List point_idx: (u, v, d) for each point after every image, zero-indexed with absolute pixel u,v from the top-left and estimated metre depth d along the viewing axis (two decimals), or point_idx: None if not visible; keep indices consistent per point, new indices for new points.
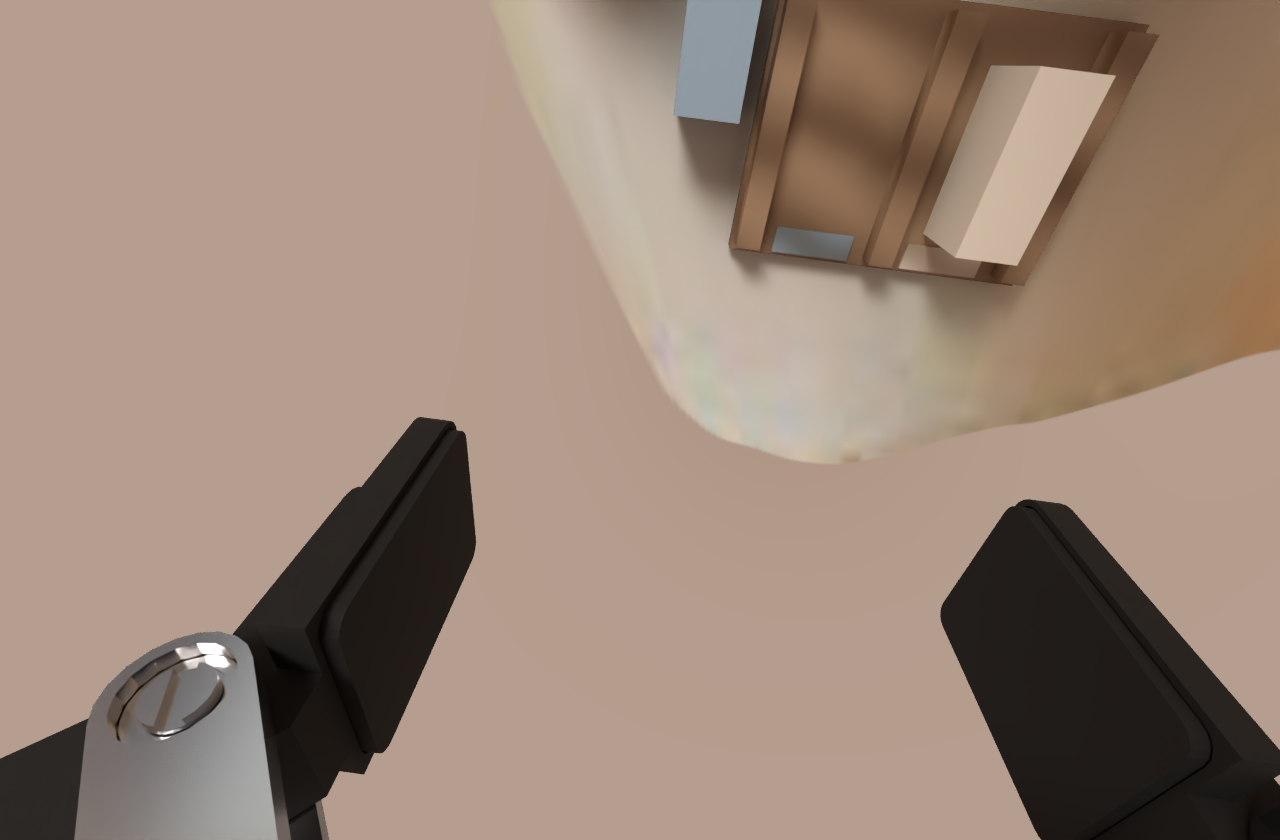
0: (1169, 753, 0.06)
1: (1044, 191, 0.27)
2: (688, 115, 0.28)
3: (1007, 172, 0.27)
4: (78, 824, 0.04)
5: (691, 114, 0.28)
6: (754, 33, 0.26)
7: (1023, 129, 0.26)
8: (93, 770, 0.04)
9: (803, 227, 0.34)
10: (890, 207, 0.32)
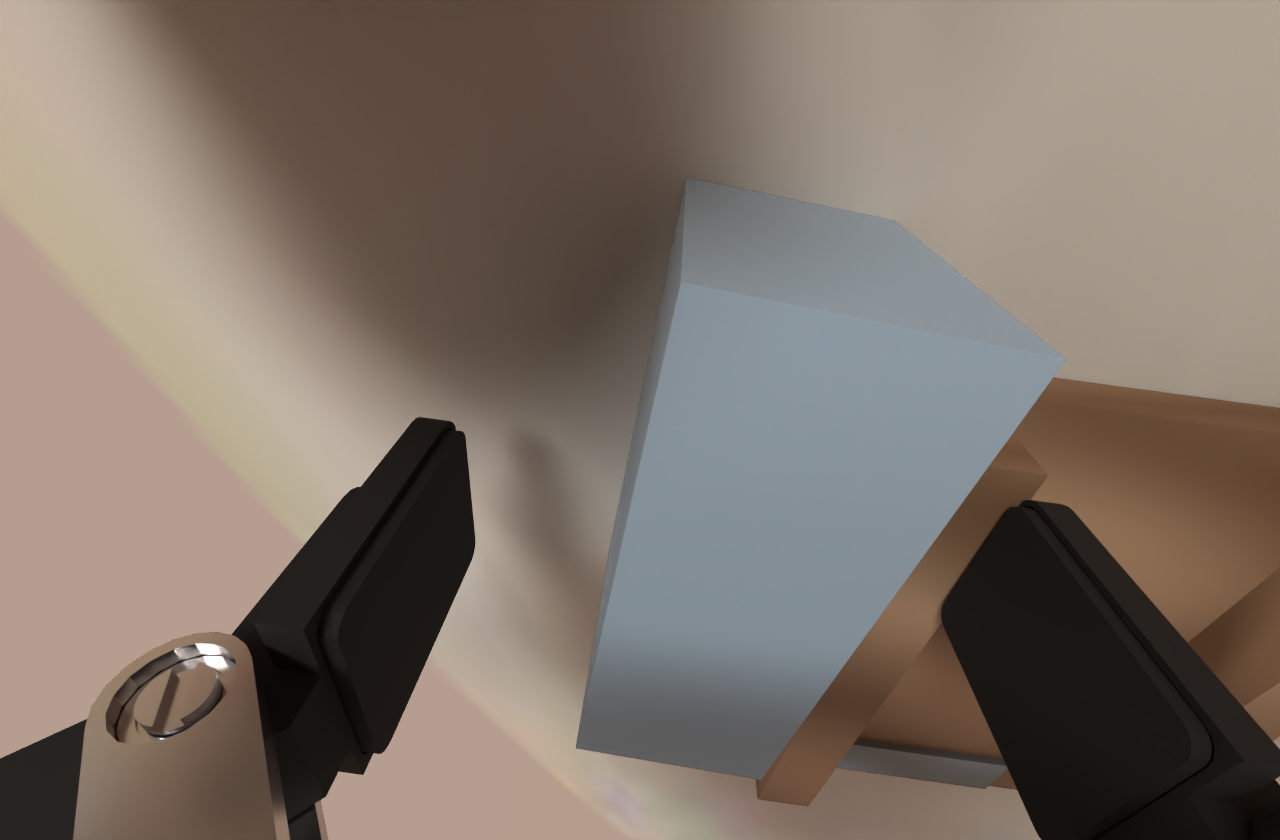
0: (1170, 754, 0.06)
1: None
2: (619, 751, 0.10)
3: None
4: (77, 824, 0.04)
5: (627, 753, 0.10)
6: (838, 668, 0.08)
7: None
8: (92, 770, 0.04)
9: (901, 743, 0.16)
10: None
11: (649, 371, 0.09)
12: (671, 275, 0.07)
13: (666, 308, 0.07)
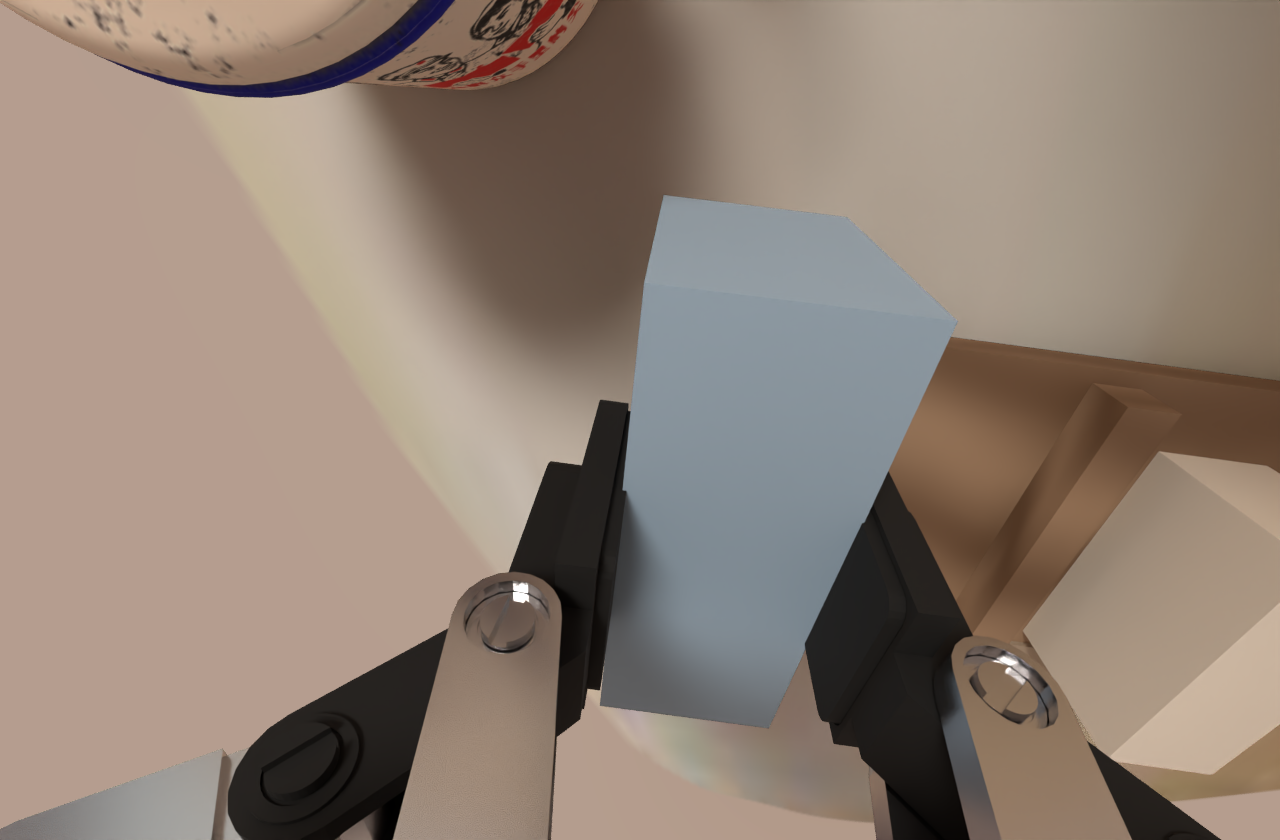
0: (880, 618, 0.07)
1: None
2: (638, 707, 0.11)
3: (1220, 682, 0.15)
4: (432, 691, 0.05)
5: (646, 708, 0.11)
6: None
7: (1262, 638, 0.14)
8: (449, 653, 0.05)
9: None
10: (980, 627, 0.20)
11: None
12: None
13: None
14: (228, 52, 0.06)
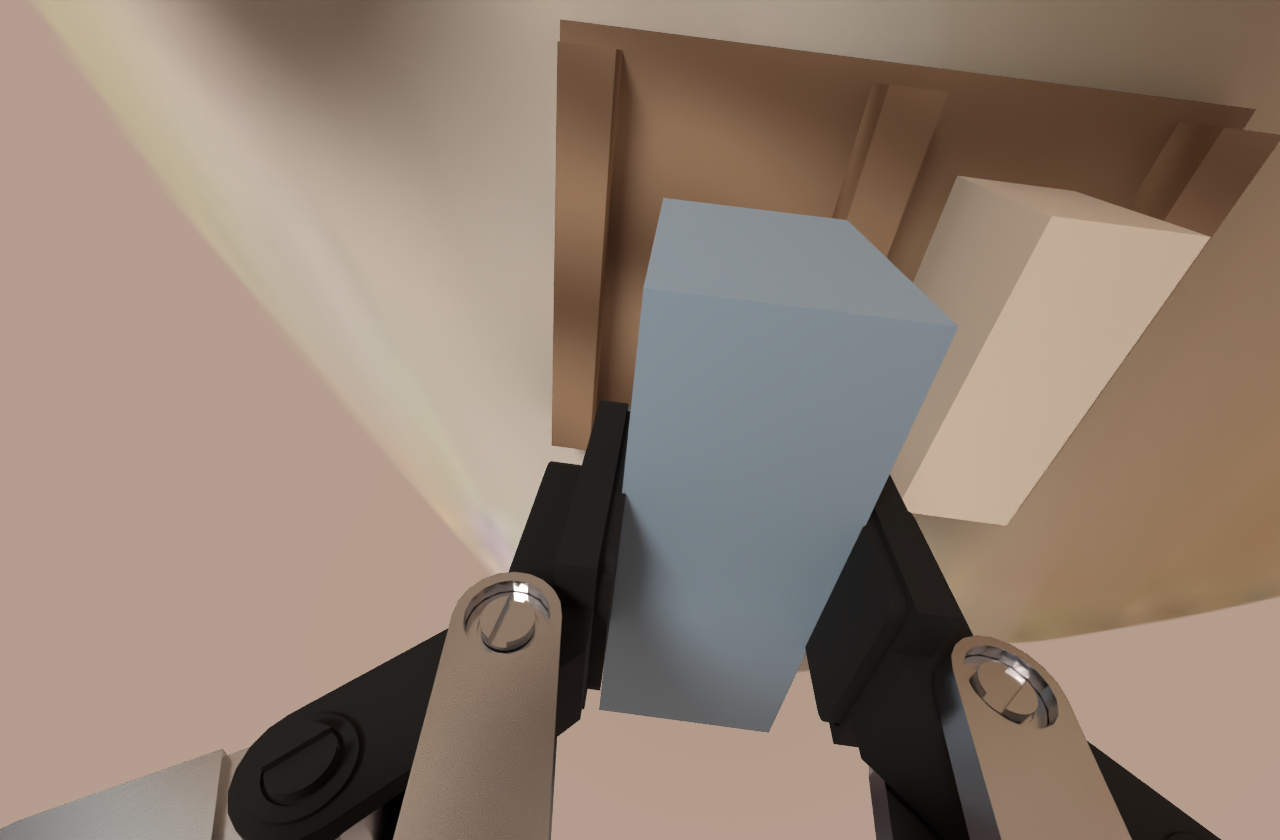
0: (880, 618, 0.07)
1: (1056, 424, 0.14)
2: (638, 711, 0.11)
3: (986, 393, 0.14)
4: (432, 691, 0.05)
5: (645, 712, 0.11)
6: None
7: (1015, 326, 0.13)
8: (449, 653, 0.05)
9: None
10: None
11: None
12: None
13: None
14: None
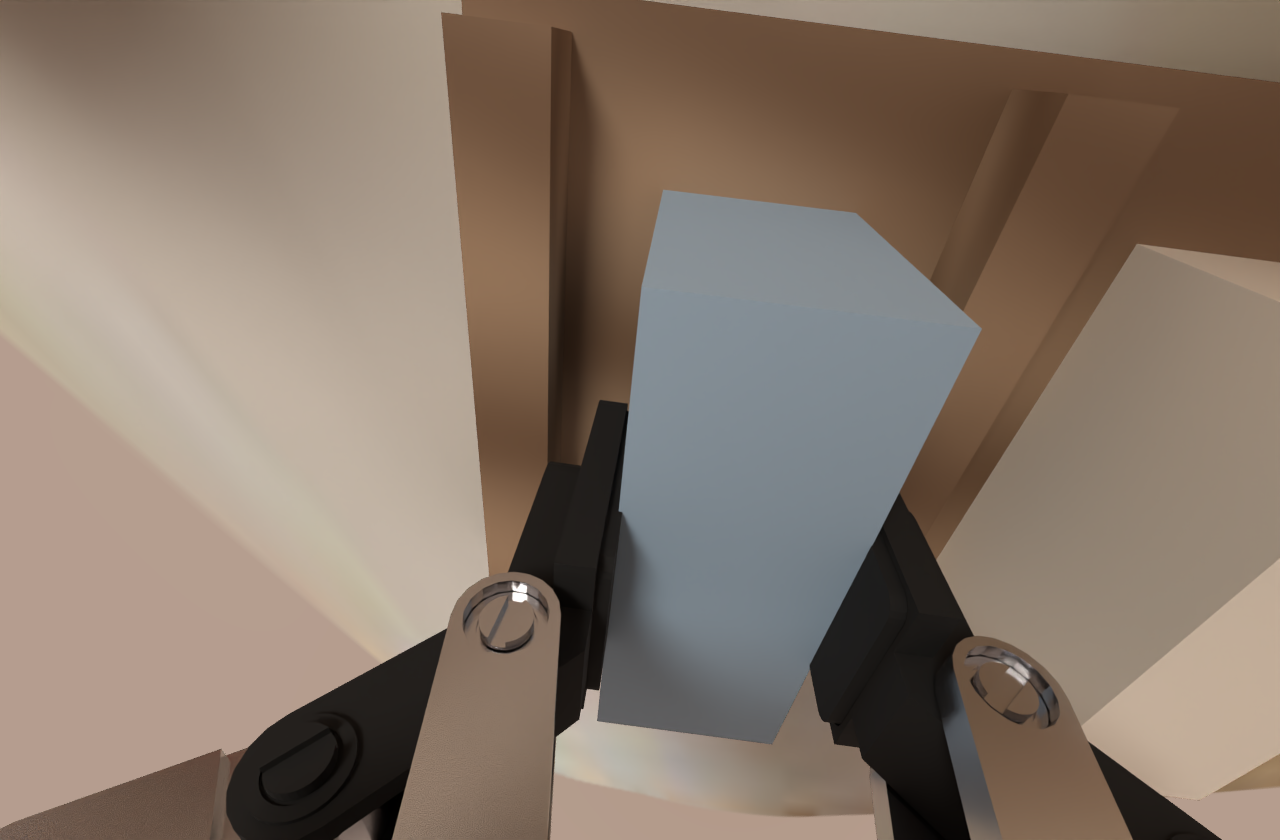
0: (881, 618, 0.07)
1: None
2: (637, 722, 0.10)
3: (1226, 651, 0.08)
4: (431, 691, 0.05)
5: (644, 723, 0.10)
6: (827, 628, 0.08)
7: None
8: (448, 653, 0.05)
9: None
10: None
11: None
12: None
13: None
14: None
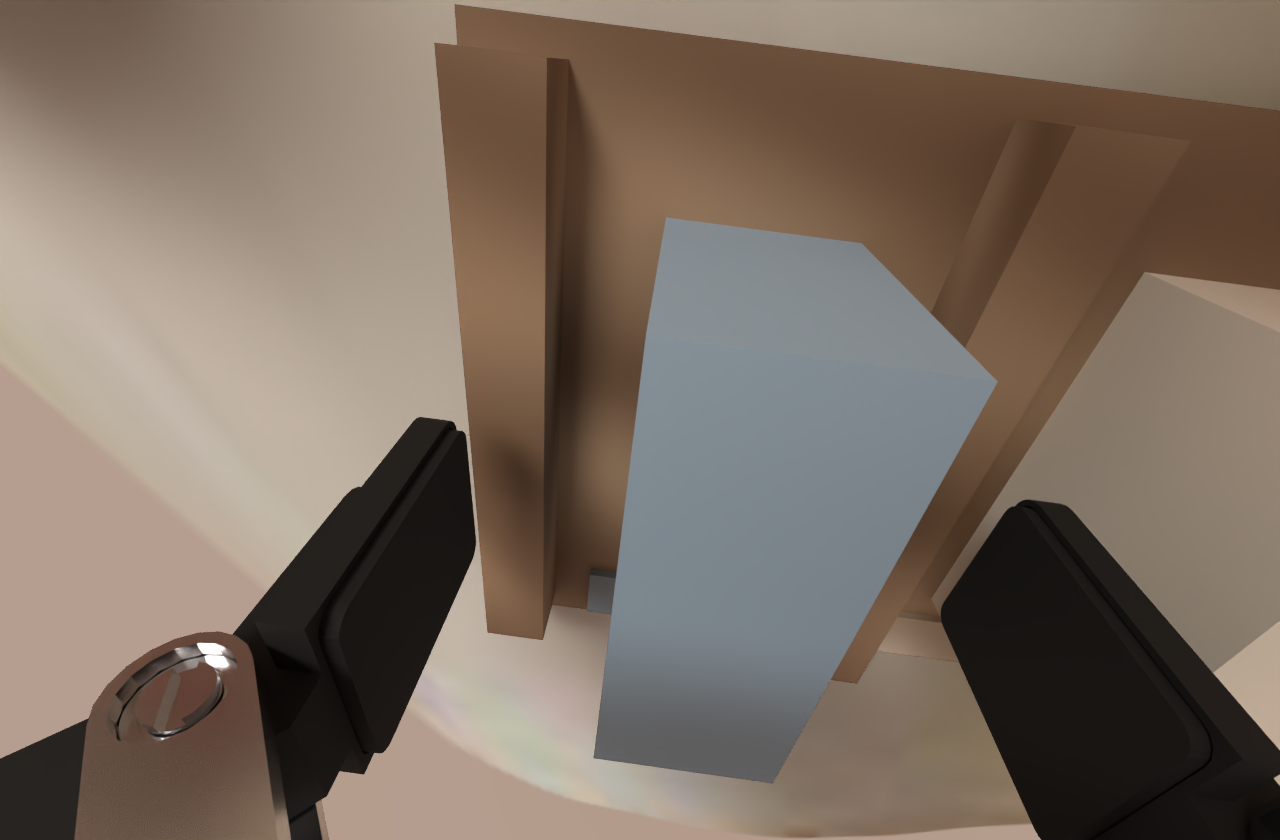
0: (1169, 753, 0.06)
1: None
2: (634, 760, 0.10)
3: (1242, 695, 0.08)
4: (78, 824, 0.04)
5: (642, 761, 0.10)
6: (831, 672, 0.08)
7: None
8: (93, 770, 0.04)
9: None
10: None
11: None
12: None
13: None
14: None
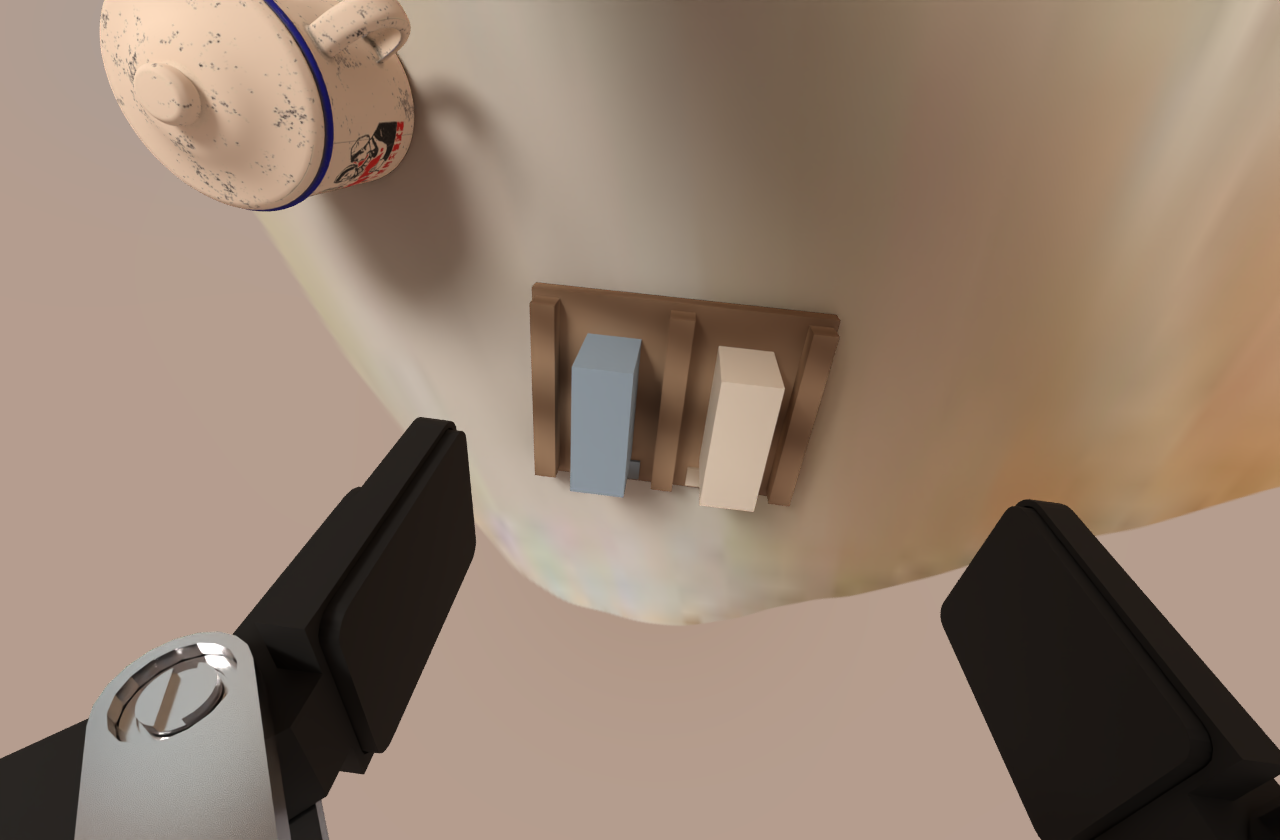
0: (1169, 753, 0.06)
1: (756, 462, 0.32)
2: (582, 491, 0.34)
3: (721, 449, 0.32)
4: (75, 825, 0.04)
5: (584, 491, 0.34)
6: (626, 448, 0.32)
7: (723, 421, 0.31)
8: (92, 770, 0.04)
9: None
10: (656, 449, 0.36)
11: None
12: None
13: None
14: (258, 203, 0.23)
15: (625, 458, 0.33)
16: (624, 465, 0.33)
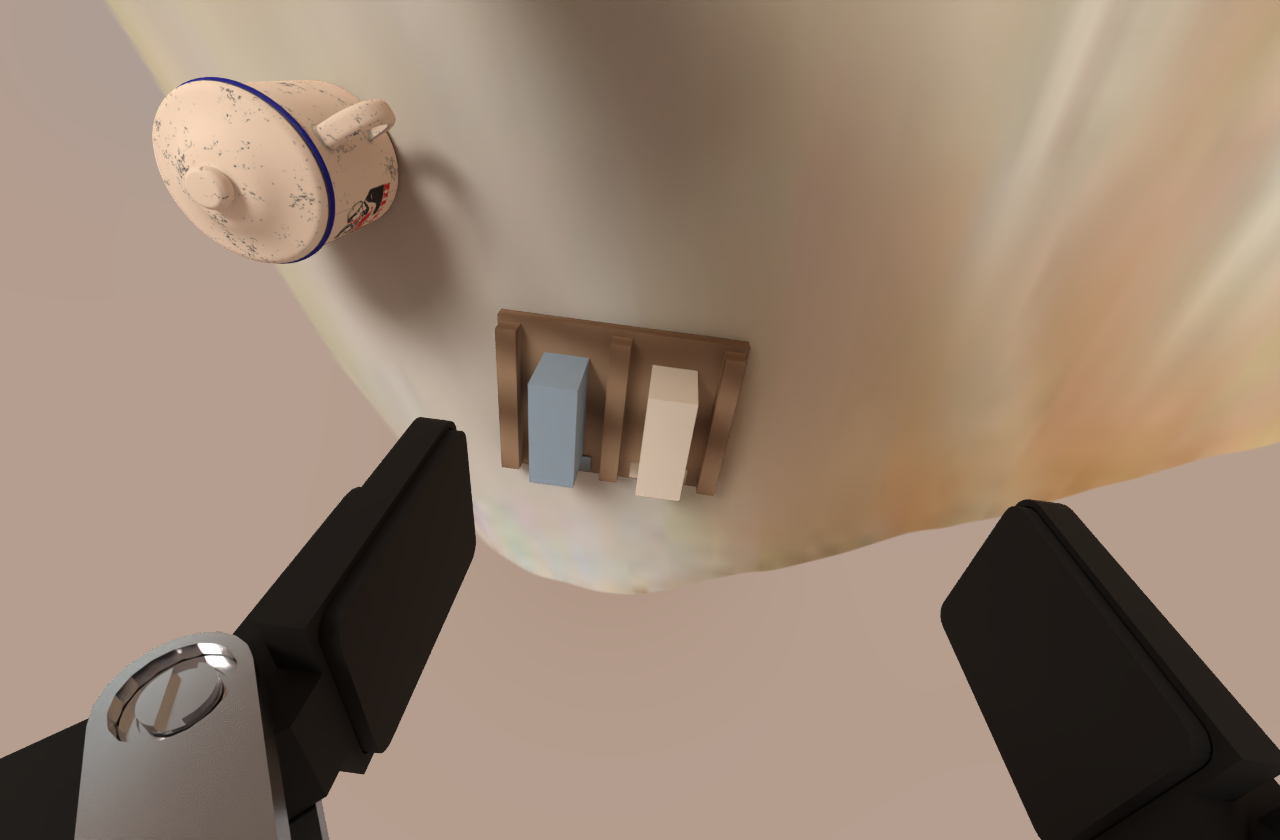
0: (1169, 753, 0.06)
1: (679, 461, 0.39)
2: (539, 482, 0.42)
3: (651, 451, 0.39)
4: (77, 823, 0.04)
5: (540, 482, 0.42)
6: (574, 449, 0.40)
7: (651, 429, 0.38)
8: (93, 769, 0.04)
9: None
10: (602, 447, 0.44)
11: None
12: None
13: None
14: (275, 260, 0.30)
15: (573, 456, 0.40)
16: (573, 462, 0.40)
